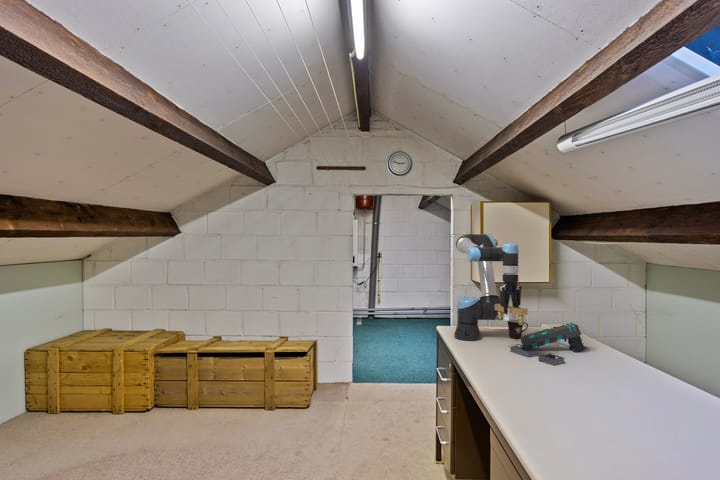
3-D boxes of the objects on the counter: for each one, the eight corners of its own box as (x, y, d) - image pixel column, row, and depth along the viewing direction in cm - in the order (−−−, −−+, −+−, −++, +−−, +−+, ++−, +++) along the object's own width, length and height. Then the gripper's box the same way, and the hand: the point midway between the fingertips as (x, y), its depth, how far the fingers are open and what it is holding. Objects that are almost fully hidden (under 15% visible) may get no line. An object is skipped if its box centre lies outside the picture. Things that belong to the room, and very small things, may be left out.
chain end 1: (510, 351, 211) (510, 344, 211) (521, 349, 215) (521, 343, 215) (528, 357, 202) (528, 350, 201) (539, 355, 205) (539, 348, 205)
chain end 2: (538, 360, 196) (538, 354, 196) (549, 358, 200) (549, 352, 200) (553, 365, 189) (553, 358, 189) (564, 363, 193) (564, 356, 193)
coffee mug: (507, 338, 237) (507, 321, 237) (507, 335, 245) (507, 318, 245) (529, 340, 233) (529, 323, 233) (527, 336, 242) (527, 320, 242)
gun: (587, 349, 210) (577, 321, 210) (531, 366, 212) (522, 338, 212) (581, 346, 216) (572, 319, 216) (526, 362, 218) (518, 335, 218)
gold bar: (494, 319, 215) (494, 304, 215) (500, 318, 216) (500, 303, 216) (521, 325, 198) (521, 309, 198) (527, 324, 200) (527, 308, 200)
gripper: (503, 275, 201) (503, 322, 200) (528, 273, 208) (528, 319, 208) (492, 274, 207) (492, 320, 207) (517, 273, 215) (517, 317, 214)
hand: (510, 319), depth 207 cm, fingers closed on gold bar, 4 cm apart
